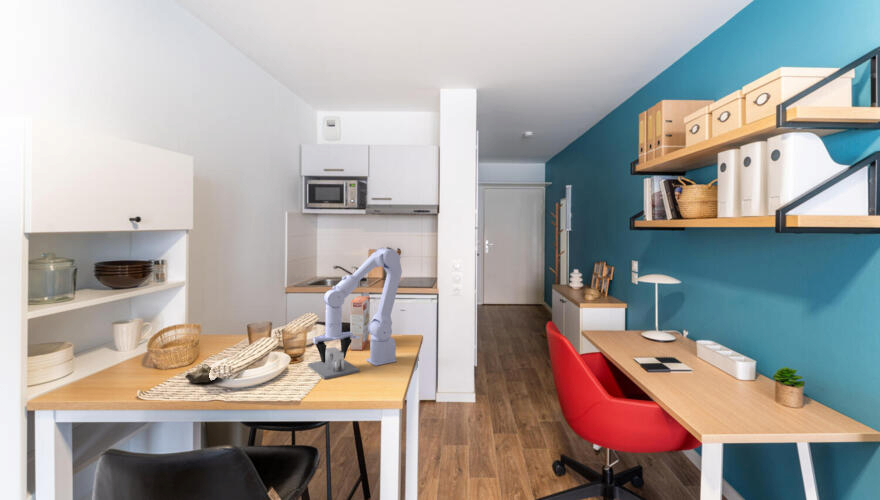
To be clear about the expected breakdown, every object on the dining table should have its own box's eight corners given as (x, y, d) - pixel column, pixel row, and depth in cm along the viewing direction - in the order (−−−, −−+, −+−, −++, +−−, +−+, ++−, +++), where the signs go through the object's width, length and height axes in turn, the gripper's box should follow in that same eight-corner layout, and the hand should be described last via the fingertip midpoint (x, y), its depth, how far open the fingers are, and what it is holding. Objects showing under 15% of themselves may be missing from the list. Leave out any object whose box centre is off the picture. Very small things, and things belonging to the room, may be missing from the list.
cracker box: (363, 350, 172) (364, 301, 170) (349, 350, 172) (349, 301, 170) (369, 341, 186) (370, 295, 184) (356, 341, 186) (356, 295, 184)
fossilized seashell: (179, 379, 130) (211, 384, 131) (188, 358, 133) (219, 364, 134) (188, 383, 137) (219, 388, 137) (197, 363, 140) (226, 368, 140)
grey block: (334, 362, 153) (334, 346, 153) (343, 368, 147) (343, 352, 146) (324, 364, 151) (324, 348, 150) (333, 371, 144) (333, 354, 144)
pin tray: (340, 359, 160) (341, 348, 159) (359, 372, 147) (359, 359, 147) (308, 366, 152) (308, 354, 151) (324, 379, 139) (324, 366, 139)
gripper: (318, 328, 141) (317, 366, 142) (356, 322, 150) (356, 359, 150) (310, 323, 146) (310, 361, 147) (348, 319, 155) (348, 354, 156)
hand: (333, 359), depth 149 cm, fingers open, 7 cm apart
